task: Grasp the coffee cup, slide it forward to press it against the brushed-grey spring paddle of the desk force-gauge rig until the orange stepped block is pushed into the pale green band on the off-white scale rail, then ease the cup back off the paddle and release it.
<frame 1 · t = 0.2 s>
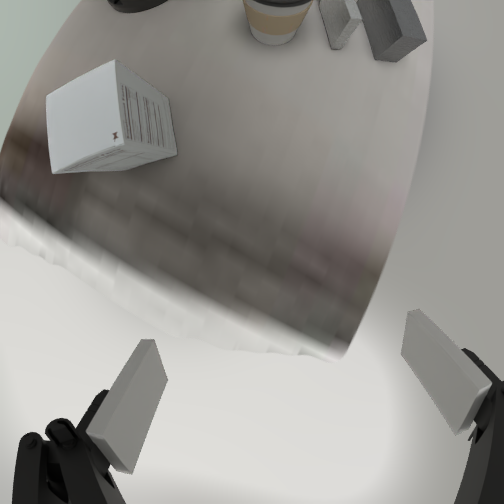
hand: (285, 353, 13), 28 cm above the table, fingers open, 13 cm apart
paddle: (333, 0, 25), point 5 cm above the table, slide at 0.0 cm
gauge housing: (324, 26, 31), on the table
coffee cup: (273, 28, 32), on the table
supplement box: (144, 134, 36), on the table
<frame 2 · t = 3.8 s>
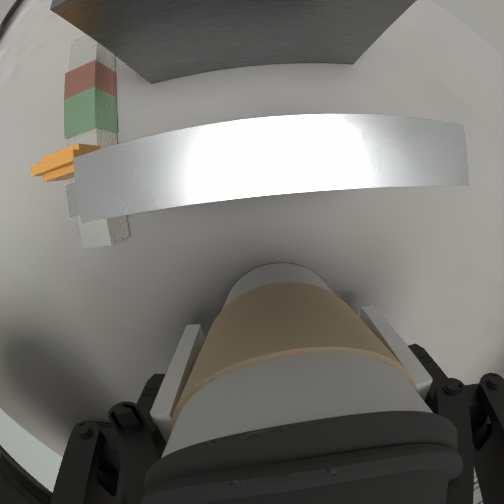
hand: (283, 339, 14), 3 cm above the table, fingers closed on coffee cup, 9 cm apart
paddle: (208, 172, 10), point 5 cm above the table, slide at 0.0 cm
gauge housing: (266, 182, 15), on the table
coffee cup: (279, 312, 17), on the table, touching gripper
orange stepped block: (67, 163, 11), point 4 cm above the table, slide at 0.0 cm
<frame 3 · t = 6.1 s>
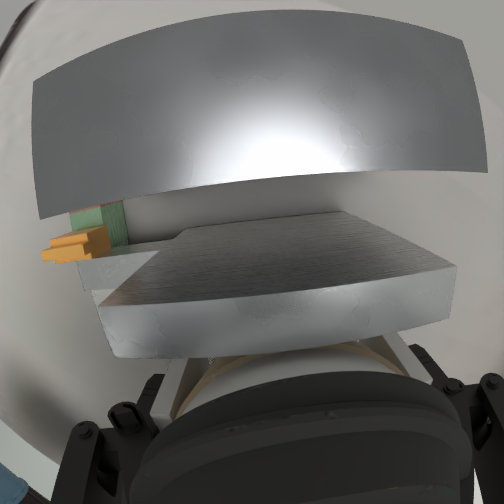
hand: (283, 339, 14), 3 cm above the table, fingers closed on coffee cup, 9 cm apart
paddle: (215, 264, 11), point 5 cm above the table, slide at 3.1 cm, touching coffee cup, orange stepped block
gauge housing: (273, 294, 17), on the table
coffee cup: (283, 356, 17), point 1 cm above the table, touching gripper, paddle
orange stepped block: (76, 245, 12), point 4 cm above the table, slide at 2.6 cm, touching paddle
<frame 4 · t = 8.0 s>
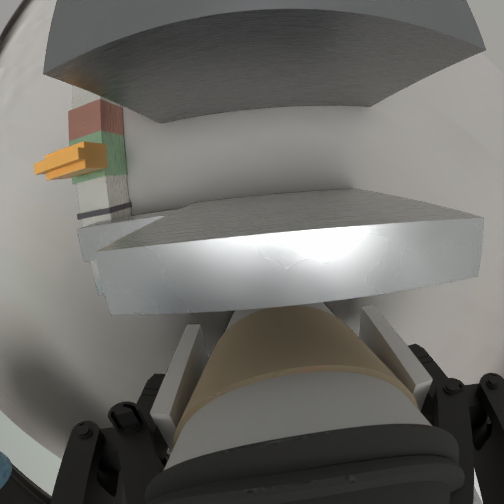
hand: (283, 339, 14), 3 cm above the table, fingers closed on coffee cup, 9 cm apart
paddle: (225, 229, 10), point 5 cm above the table, slide at 0.7 cm
gauge housing: (279, 232, 16), on the table
coffee cup: (282, 336, 17), on the table, touching gripper
orange stepped block: (71, 161, 10), point 4 cm above the table, slide at 2.7 cm
when the fingers open (3 cm above the table, at t = 8.5 s): coffee cup stays where it is, on the table.
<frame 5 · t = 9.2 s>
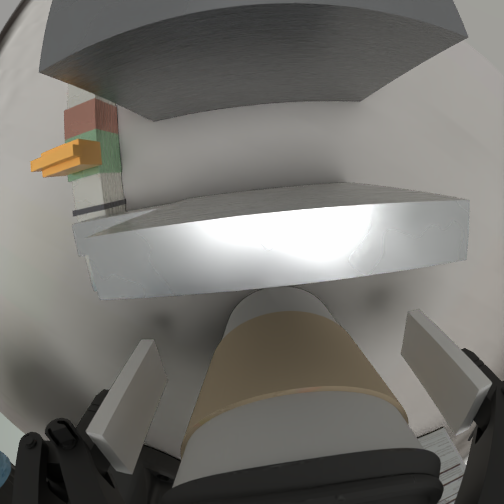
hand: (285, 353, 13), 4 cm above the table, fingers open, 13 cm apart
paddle: (215, 221, 10), point 5 cm above the table, slide at 0.7 cm
gauge housing: (271, 226, 16), on the table
coffee cup: (280, 332, 18), on the table
supplement box: (402, 457, 23), on the table
orange stepped block: (67, 158, 11), point 4 cm above the table, slide at 2.7 cm
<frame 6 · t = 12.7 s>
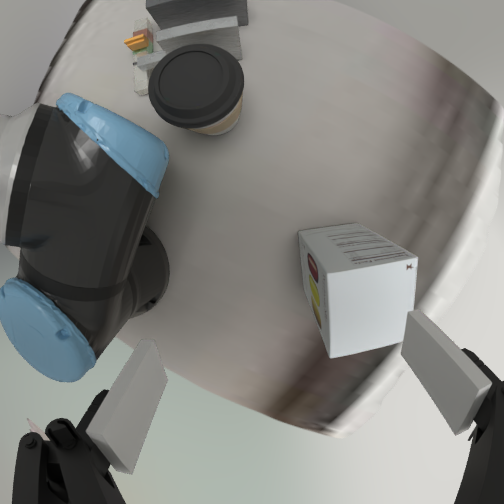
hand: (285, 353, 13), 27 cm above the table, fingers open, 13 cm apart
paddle: (185, 48, 27), point 5 cm above the table, slide at 0.7 cm
gauge housing: (210, 68, 33), on the table
coffee cup: (214, 112, 35), on the table
supplement box: (331, 257, 40), on the table
orange stepped block: (137, 41, 27), point 4 cm above the table, slide at 2.7 cm
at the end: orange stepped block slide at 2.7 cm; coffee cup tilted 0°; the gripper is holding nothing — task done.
